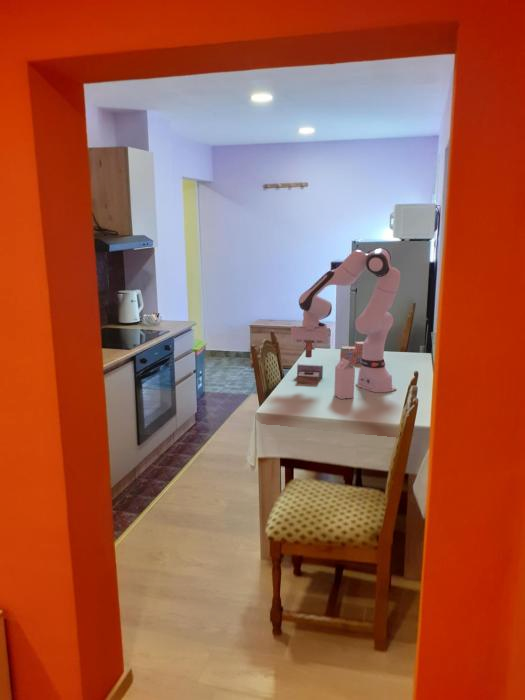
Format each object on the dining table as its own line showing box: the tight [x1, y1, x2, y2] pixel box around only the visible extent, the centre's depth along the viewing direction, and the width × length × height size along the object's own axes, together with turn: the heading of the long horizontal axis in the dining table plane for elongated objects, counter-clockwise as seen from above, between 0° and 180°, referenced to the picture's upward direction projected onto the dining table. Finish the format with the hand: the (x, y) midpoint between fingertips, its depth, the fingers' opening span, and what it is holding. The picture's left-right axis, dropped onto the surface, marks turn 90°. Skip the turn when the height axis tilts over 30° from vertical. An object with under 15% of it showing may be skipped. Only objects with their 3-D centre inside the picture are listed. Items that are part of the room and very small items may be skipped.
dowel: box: [305, 341, 313, 358], centre depth 301 cm, size 3×3×8 cm
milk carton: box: [333, 358, 356, 400], centre depth 282 cm, size 7×7×19 cm
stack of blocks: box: [339, 341, 364, 364], centre depth 354 cm, size 21×6×12 cm, turn 94°
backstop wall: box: [296, 364, 324, 379], centre depth 318 cm, size 2×14×7 cm, turn 81°
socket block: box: [297, 371, 320, 385], centre depth 311 cm, size 11×11×4 cm
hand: (308, 348), depth 301 cm, fingers closed on dowel, 3 cm apart
